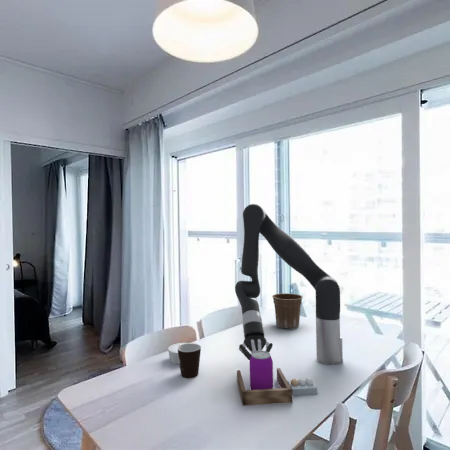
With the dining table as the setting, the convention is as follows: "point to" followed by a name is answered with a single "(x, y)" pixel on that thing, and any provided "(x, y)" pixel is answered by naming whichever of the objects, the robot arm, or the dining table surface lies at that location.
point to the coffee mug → (189, 359)
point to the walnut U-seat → (265, 392)
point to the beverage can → (261, 370)
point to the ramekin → (174, 353)
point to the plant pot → (287, 310)
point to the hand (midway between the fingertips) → (259, 371)
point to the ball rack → (302, 386)
